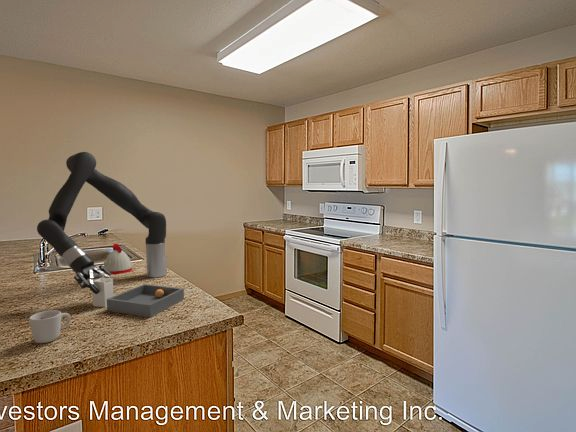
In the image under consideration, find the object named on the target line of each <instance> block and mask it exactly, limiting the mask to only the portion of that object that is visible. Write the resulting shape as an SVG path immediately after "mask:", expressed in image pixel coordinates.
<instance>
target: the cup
mask: <svg viewBox="0 0 576 432" xmlns="http://www.w3.org/2000/svg"><path fill="white" fill-rule="evenodd" d="M64 317H66V318H67V319H66V323H64V324H62V321H63V318H64ZM71 318H72V316H71V315H70V314H69V313H68V312H61V311H60V310H57V309H54V310H53V309H51V310H43V311H40V312H36V313H34V314H32V315H30V317H29V318H28V321H29V326H30V329H31V330H30V331H31V334H32V338H33V341H34V343H37V344H45V343H47V344H48V343H49V342H53V341H56V340H57V339H58V338H59V336H60V333H61V330H62V329H64V328H67V327H68V326H69V325H70V324H71V321H72V319H71Z"/></svg>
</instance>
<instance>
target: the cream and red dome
mask: <svg viewBox="0 0 576 432" xmlns="http://www.w3.org/2000/svg"><path fill="white" fill-rule="evenodd" d="M111 247H112V250H113V251H111V252H110V253H109V254H108V255H107V257H106V259H104V260H103V266H104V267H105V268H106V269H107V270H108V271H109V272H110V273H111V275H120V274H121V275H122V274H125V273H129V272H131V271H132V270H133V265H132V262H131V261H132V258H131V257H129V256H128V254H127V253H126V252H125V251H123V249H122V248H121V246H120V243H119V244H118V243H114V244H113V245H112V246H111ZM105 274H107V273H106V272H105Z"/></svg>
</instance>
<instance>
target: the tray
mask: <svg viewBox="0 0 576 432" xmlns="http://www.w3.org/2000/svg"><path fill="white" fill-rule="evenodd" d="M158 289H162V290H163V292H164V295H163V296H162V297H160V298H159V297H156V296H155V292H156V290H158ZM184 299H185V289H184V288H181V287H175V286H174V287H171V286H163V285H157V284H156V285H154V284H147V283H146V284H145V283H144V284H141V285H138V286H136V287H134V288H131V289H129V290H126V291H124V292H121V293H118V294H117V295H114V296H113V297H111V298H108V299H107V306H106V309H107V312H113V313H119V314H120V313H121V314H125V315H126V314H127V315H133V316H134V315H135V316H139V317H145V316H146V318H152V317H154V316H156V315H158V314H159V313H161V312H163V311H165V310H167V309H169V308H171V307H172V306H174V305H176V304H178V303H180V302H182V301H183V300H184Z"/></svg>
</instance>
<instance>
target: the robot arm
mask: <svg viewBox="0 0 576 432" xmlns="http://www.w3.org/2000/svg"><path fill="white" fill-rule="evenodd" d="M65 162H66V163H65V164H66V168H67V169H68V171H69V172H70V174H69V176H68V178H67V179H66V181H65V183H64V184H63V185H62V186H61V188H60V189H59V190H58V192H57V193H56V195H55V196H54V198H53V200H52V202H51V204H50V206H49V209H48V214H49V215H48V218H47V219H42V220H41V221H40V222H38V224H37V225H36V231H37V233H38V235H39V236H40V237H41V238H42V239H43V240H45V242H47V243H48V244H49V245H50V246H51V247H52V248H53V249H54V251H55V252H56V253H57V254H58V255H59V256H60V257H61V258H62V260H63V261H64V262H65V263H66V265H67V266H68V267H69V268H70V269H71V270H72V271H73V272H74V273H75V275H74V277H73V279H74V280H75V281H76V282H77V283H78V284H79V286H80V287H81V288H82V289H85V288H87V289H89V290H90V291H91V293H92V292H93V293H95V294H98V293H99V292H100V289H99V288H98V287H97V286H96V285H95V284H93V281H94V280H97V279H99V278H110V276H111V275H112V274H111V273H110V272H109V271H108V270H107V269H106V268H105V267H104V264H99V266H96V265H95V261H94V259H92V257H90V255H89V254H88V253H87V252H86V251H85V250H84V249H83V248H82V247H80V246H79V245H78V243H76V242H75V241H74V240H73V239H72V238H71V237H70V236H69V235H67V233H66V232H65V229H66V224H67V221H68V217H69V215H70V213H71V211H72V208H73V206H74V204H75V202H76V200H77V198H78V196H79V193H80V192H81V190H82V189H83V187H84V185H85V183H87V184H89V185H90V186H92V187H93V188H94V189H95V190H97V191H98V192H100V193H101V194H102V195H103V196H105V197H106V198H107V199H108V200H110V201H111V202H113V204H115V205H116V206H118V207H120V208H121V209H122V210H124V211H125V212H127V213H128V214H130V215H132V216H133V217H134V218H135V219H136V220H137V221H138V222H139V223H140V224H141V225H143V227H145V228H146V229H147V230H148V235H147V236H146V237H145V259H146V262H145V265H146V277H148V278H151V279H152V278H153V279H155V278H162V277H164V276H166V275H167V273H168V269H167V268H168V266H167V264H168V263H167V255H166V245H165V244H166V241H165V239H166V237H167V220H166V219H167V218H166V216H165V215H164V214H163V213H161V212H159V211H153V210H152V209H150V208H149V207H147V206H145V205H144V204H142V202H141V201H140V200H139V199H138V197H137V196H136V194H135V193H134V192H133V191H132V190H131V189H129V188H128V187H127V186H126V185H125V184H123V183H122V182H120V181H118V180H116V179H114V178H112V177H109V176H107V175H104V174H103V173H102V172H100V171H99V170H98V169H96V167H97V159H96V157H95V156H94V155H93V154H92V153H90V152H88V151H87V152H86V151H80V152H78V153H75V154H73V155H70V156H69V157H68V158H67V159H66V161H65ZM105 272H106V273H107V274H105ZM115 285H116V284H115V282H114V281H113V287H114V286H115ZM93 293H92V294H93Z"/></svg>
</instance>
